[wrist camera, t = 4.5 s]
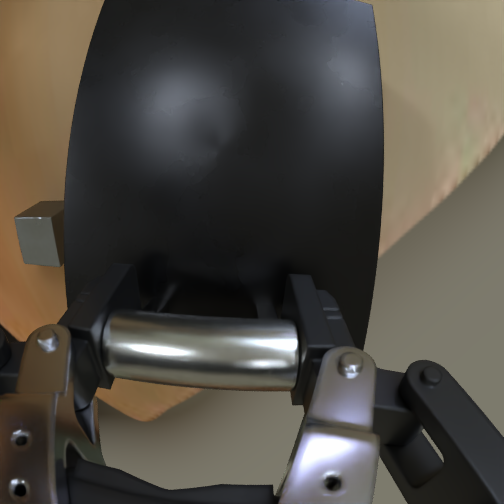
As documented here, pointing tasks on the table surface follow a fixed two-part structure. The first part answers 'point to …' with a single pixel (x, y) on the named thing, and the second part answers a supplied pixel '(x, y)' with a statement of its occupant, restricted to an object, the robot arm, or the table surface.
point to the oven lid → (225, 180)
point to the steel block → (42, 233)
